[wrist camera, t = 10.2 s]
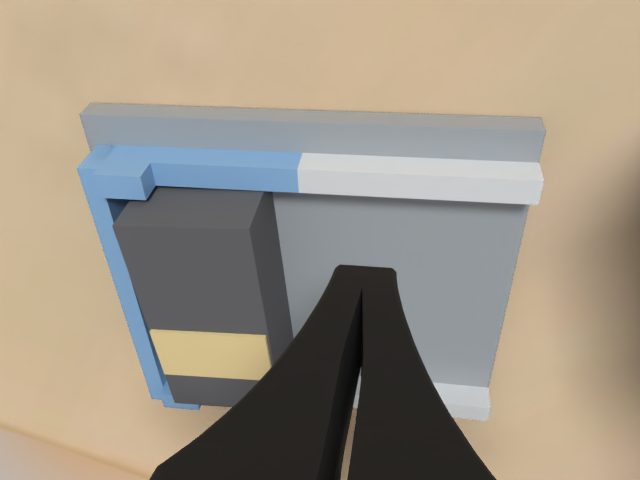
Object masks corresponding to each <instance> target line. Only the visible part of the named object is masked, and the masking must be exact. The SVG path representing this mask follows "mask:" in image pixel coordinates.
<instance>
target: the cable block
mask: <svg viewBox="0 0 640 480" xmlns="http://www.w3.org/2000/svg"><path fill="white" fill-rule="evenodd" d="M112 227H113V230H114V233H115V236H116V239H117V241H118V244H119V247H120V250H121V253H122V256H123V258H124V261H125V264H126V267H127V270H128V272H129V275H130V278H131V281H132V284H133V287H134V289H135V292H136V295H137V298H138V301H139V304H140V306H141V309H142V312H143V315H144V318H145V320H146V323H147V326H148V329H149V332H150V335H151V338H152V341H153V344H154V346H155V349H156V352H157V355H158V358H159V360H160V363H161V366H162V369H163V372H164V374H165V377H166V380H167V383H168V385H169V388H170V391H171V394H172V397H173V400H174V402H175V403H181V404H196V405H210V406H224V407H234V406H235V405H236V404H237V403H238V402H239V401H240V400H241V399H242V398H243V397H244V396H245V395H246V394H247V393H248V392H249V391H250V390H251V389H252V388H253V387H254V386H255V385H256V384H257V383H258V382H259V381H260V379H261V378H262V377H263V376H264V375H265V374H266V373H267V372H268V370H269V369H270V368H271V367H272V366H273V365H274V364H275V362H276V361H277V360H278V359H279V357H280V356H281V355H282V354H283V352H284V351H285V350H286V349H287V347H288V346H289V344H290V343H291V342H292V340H293V339H294V338H293V331H292V324H291V317H290V310H289V303H288V296H287V289H286V282H285V275H284V269H283V262H282V255H281V248H280V241H279V234H278V227H277V220H276V213H275V206H274V200H273V193H272V191H252V190H232V189H212V188H193V187H173V186H155V188H154V189H153V191H152V192H151V194H150V195H149V197H148V198H147V200H131V199H130V201H129V202H128V204H127V205H126V207H125V208H124V209H123V211H122V212H121V214H120V215H119V217H118V218H117V220H116V221H115V222H114V224H113V225H112Z"/></svg>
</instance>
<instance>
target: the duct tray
mask: <svg viewBox="0 0 640 480" xmlns="http://www.w3.org/2000/svg"><path fill="white" fill-rule="evenodd" d="M79 115H80V118H81V122H82V125H83V128H84V132H85V135H86V138H87V141H88V145H89V148H90V151H91V152H90V154H89V155H88V156H87V157H86V158H85V159H84V160H83V161H82V163H81V164H80V165H79V166H78V167H77V170H78V173H79V176H80V179H81V182H82V185H83V189H84V192H85V195H86V198H87V201H88V204H89V207H90V210H91V213H92V216H93V219H94V222H95V226H96V229H97V232H98V235H99V238H100V241H101V244H102V247H103V250H104V253H105V256H106V259H107V262H108V266H109V269H110V272H111V275H112V278H113V281H114V284H115V287H116V290H117V293H118V296H119V299H120V302H121V306H122V309H123V312H124V315H125V318H126V321H127V324H128V327H129V330H130V333H131V336H132V339H133V342H134V346H135V349H136V352H137V355H138V358H139V361H140V364H141V367H142V370H143V373H144V376H145V379H146V382H147V386H148V389H149V392H150V395H151V398H152V399H159V400H162V401H163V404H164V407H171V408H181V409H191V410H199V409H200V406H201V405H196V404H181V403H175V402H174V400H173V397H172V394H171V391H170V388H169V385H168V383H167V380H166V377H165V374H164V372H163V369H162V366H161V363H160V360H159V358H158V355H157V352H156V349H155V346H154V344H153V341H152V338H151V335H150V332H149V329H148V326H147V323H146V320H145V318H144V315H143V312H142V309H141V306H140V304H139V301H138V298H137V295H136V292H135V289H134V287H133V284H132V281H131V278H130V275H129V272H128V270H127V267H126V264H125V261H124V258H123V256H122V253H121V250H120V247H119V244H118V241H117V239H116V236H115V233H114V230H113V227H112V225H113V224H114V222H115V221H116V220H117V218H118V217H119V215H120V214H121V212H122V211H123V209H124V208H125V207H126V205H127V204H128V202H129V201H130V199H131V200H147V198H148V197H149V195H150V194H151V192H152V191H153V189H154V188H155V186H173V187H193V188H212V189H232V190H252V191H272V193H273V200H274V206H275V213H276V220H277V227H278V234H279V241H280V248H281V255H282V262H283V269H284V275H285V282H286V289H287V296H288V303H289V310H290V317H291V324H292V331H293V338H295V336H296V335H297V334H298V332H299V331H300V330H301V328H302V327H303V325H304V324H305V322H306V321H307V319H308V317H309V316H310V314H311V313H312V311H313V310H314V308H315V306H316V305H317V303H318V301H319V300H320V298H321V296H322V294H323V293H324V291H325V289H326V287H327V285H328V283H329V281H330V279H331V277H332V274H333V272H334V269H335V268H336V267H337V266H338V265H340V264H341V265H356V266H372V267H387V268H393V269H394V270H395V271H396V272H397V285H398V290H399V295H400V299H401V303H402V307H403V311H404V314H405V317H406V320H407V323H408V326H409V329H410V331H411V334H412V337H413V340H414V342H415V345H416V347H417V350H418V352H419V354H420V357H421V359H422V361H423V363H424V366H425V368H426V370H427V372H428V374H429V376H430V378H431V380H432V382H433V384H434V386H435V388H436V390H437V392H438V393H439V395H440V397H441V399H442V401H443V403H444V404H445V406H446V408H447V409H448V411H449V413H450V414H451V416H452V418H461V419H472V420H482V421H488V417H489V413H490V409H491V407H490V397H489V388H488V387H489V383H490V378H491V374H492V370H493V365H494V361H495V356H496V352H497V347H498V343H499V338H500V334H501V329H502V325H503V320H504V316H505V312H506V307H507V303H508V298H509V294H510V289H511V285H512V280H513V276H514V271H515V267H516V263H517V258H518V254H519V249H520V245H521V240H522V236H523V231H524V227H525V222H526V218H527V213H528V209H529V205H539V201H540V196H541V192H542V188H543V184H544V178H543V175H542V171H541V168H540V165H539V160H540V155H541V151H542V147H543V142H544V138H545V133H546V129H545V126H544V124H543V121H542V118H535V117H504V116H474V115H443V114H413V113H382V112H351V111H321V110H290V109H259V108H229V107H198V106H167V105H137V104H106V103H90V104H89V105H88V106H87V107H86V108H85V109H84V110H83V111H82V112H81V113H80V114H79ZM360 384H361V369H360V374H359V379H358V384H357V389H356V394H355V399H354V404H353V408H358V400H359V392H360Z"/></svg>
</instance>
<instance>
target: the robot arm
mask: <svg viewBox="0 0 640 480" xmlns="http://www.w3.org/2000/svg"><path fill="white" fill-rule="evenodd" d="M360 369H361V384H360V392H359V400H358V408H357V416H356V423H355V431H354V438H353V445H352V452H351V459H350V466H349V473H348V479H347V480H496V479H495V477H494V476H493V475H492V474H491V472H490V471H489V470H488V468H487V467H486V466H485V464H484V463H483V462H482V460H481V459H480V458H479V456H478V455H477V454H476V452H475V451H474V449H473V448H472V446H471V445H470V443H469V442H468V440H467V439H466V437H465V436H464V434H463V433H462V431H461V430H460V428H459V427H458V425H457V424H456V422H455V421H454V419H453V418H452V416H451V414H450V413H449V411H448V409H447V408H446V406H445V404H444V403H443V401H442V399H441V397H440V395H439V393H438V392H437V390H436V388H435V386H434V384H433V382H432V380H431V378H430V376H429V374H428V372H427V370H426V368H425V366H424V363H423V361H422V359H421V357H420V354H419V352H418V350H417V347H416V345H415V342H414V340H413V337H412V334H411V331H410V329H409V326H408V323H407V320H406V317H405V314H404V311H403V307H402V303H401V299H400V295H399V290H398V285H397V272H396V271H395V270H394V269H393V268H387V267H372V266H356V265H341V264H340V265H338V266H337V267H336V268H335V269H334V272H333V274H332V277H331V279H330V281H329V283H328V285H327V287H326V289H325V291H324V293H323V294H322V296H321V298H320V300H319V301H318V303H317V305H316V306H315V308H314V310H313V311H312V313H311V314H310V316H309V317H308V319H307V321H306V322H305V324H304V325H303V327H302V328H301V330H300V331H299V332H298V334H297V335H296V336H295V338H294V339H293V340H292V342H291V343H290V344H289V346H288V347H287V349H286V350H285V351H284V352H283V354H282V355H281V356H280V357H279V359H278V360H277V361H276V362H275V364H274V365H273V366H272V367H271V368H270V369H269V370H268V372H267V373H266V374H265V375H264V376H263V377H262V378H261V379H260V381H259V382H258V383H257V384H256V385H255V386H254V387H253V388H252V389H251V390H250V391H249V392H248V393H247V394H246V395H245V396H244V397H243V398H242V399H241V400H240V401H239V402H238V403H237V404H236V405H235V406H234V407H233V408H231V409H230V410H229V411H228V412H227V413H226V414H225V415H223V416H222V417H221V418H220V419H219V420H218V421H216V422H215V423H214V424H213V425H212V426H211V427H209V428H208V429H207V430H206V431H205V432H204V433H202V434H201V435H200V436H199V437H197V438H196V439H195V440H193V441H192V442H191V443H189V444H188V445H187V446H185V447H184V448H182V449H181V450H180V451H178V452H177V453H176V454H174V455H173V456H171V457H170V458H169V459H167V460H166V461H165V462H163V463H162V464H160V465H159V466H158V467H157V468H156V470H155V471H154V473H153V474H152V476H151V478H150V480H340V478H341V468H342V462H343V455H344V449H345V444H346V439H347V434H348V429H349V424H350V419H351V414H352V409H353V404H354V399H355V394H356V389H357V384H358V379H359V374H360Z"/></svg>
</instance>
